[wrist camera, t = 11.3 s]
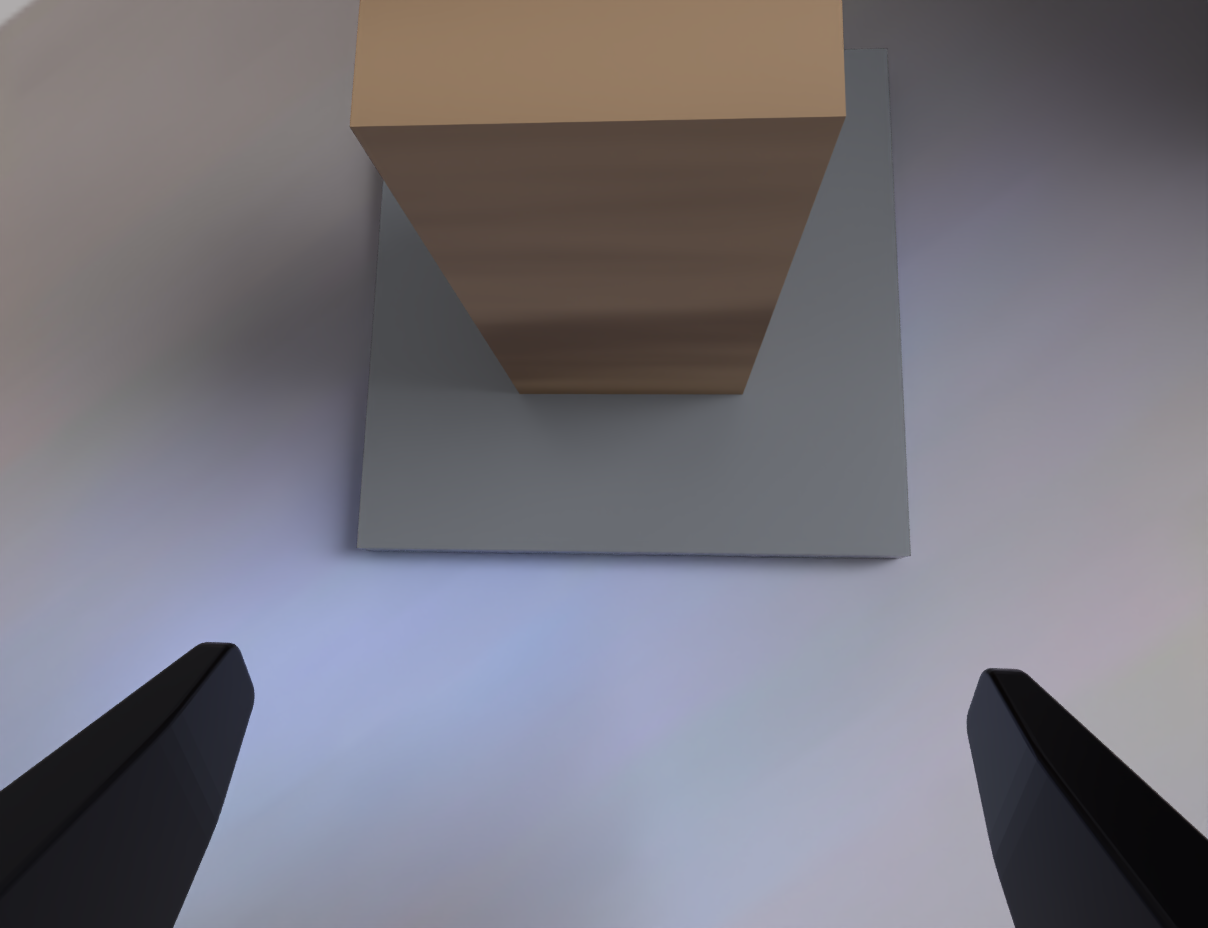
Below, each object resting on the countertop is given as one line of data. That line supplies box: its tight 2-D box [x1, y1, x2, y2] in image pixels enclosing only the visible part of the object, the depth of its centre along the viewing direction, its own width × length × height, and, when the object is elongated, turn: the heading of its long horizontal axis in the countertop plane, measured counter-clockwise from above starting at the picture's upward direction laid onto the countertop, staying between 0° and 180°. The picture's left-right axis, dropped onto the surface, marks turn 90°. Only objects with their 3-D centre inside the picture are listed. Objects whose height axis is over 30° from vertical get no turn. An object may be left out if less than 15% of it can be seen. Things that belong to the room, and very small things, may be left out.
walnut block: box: [350, 0, 846, 394], centre depth 14 cm, size 5×5×10 cm
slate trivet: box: [357, 48, 911, 558], centre depth 20 cm, size 12×12×1 cm
